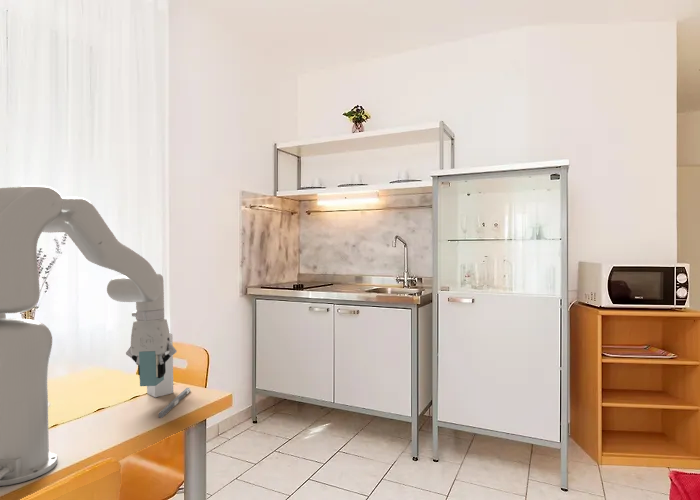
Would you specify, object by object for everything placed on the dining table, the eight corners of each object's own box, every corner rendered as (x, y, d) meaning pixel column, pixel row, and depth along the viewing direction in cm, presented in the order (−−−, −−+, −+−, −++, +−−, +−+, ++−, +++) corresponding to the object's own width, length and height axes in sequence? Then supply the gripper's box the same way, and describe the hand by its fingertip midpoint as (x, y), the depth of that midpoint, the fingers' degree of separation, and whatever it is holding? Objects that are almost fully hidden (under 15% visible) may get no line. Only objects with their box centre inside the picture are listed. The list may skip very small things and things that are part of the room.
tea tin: (155, 385, 127) (155, 351, 127) (139, 386, 127) (138, 351, 127) (164, 379, 133) (163, 346, 133) (148, 379, 133) (147, 347, 133)
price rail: (163, 417, 120) (163, 413, 120) (158, 417, 120) (158, 413, 120) (190, 391, 142) (190, 387, 142) (186, 391, 142) (186, 387, 142)
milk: (155, 398, 137) (153, 327, 137) (146, 393, 141) (145, 325, 141) (174, 392, 141) (172, 324, 141) (165, 389, 146) (163, 322, 145)
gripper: (115, 318, 126) (116, 381, 126) (174, 316, 127) (176, 380, 127) (127, 314, 134) (129, 374, 134) (183, 312, 134) (185, 372, 134)
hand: (152, 376), depth 130 cm, fingers closed on tea tin, 4 cm apart
